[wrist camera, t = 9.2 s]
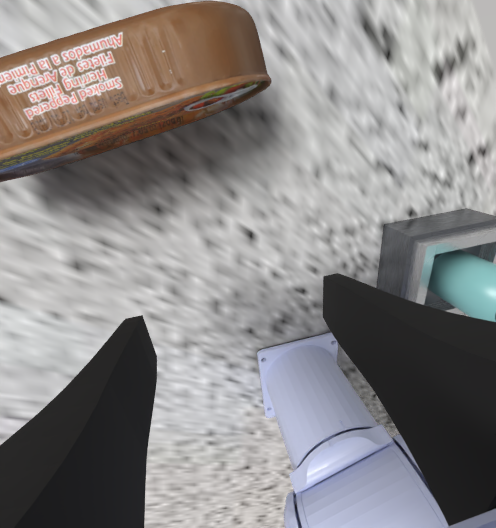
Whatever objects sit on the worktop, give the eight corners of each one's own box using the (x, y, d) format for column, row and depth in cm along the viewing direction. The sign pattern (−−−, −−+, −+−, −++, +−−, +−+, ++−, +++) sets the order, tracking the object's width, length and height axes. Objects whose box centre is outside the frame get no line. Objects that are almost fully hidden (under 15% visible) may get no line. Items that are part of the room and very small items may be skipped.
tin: (11, 182, 16) (-131, 226, 9) (-29, 125, 15) (-239, 120, 7) (250, 103, 17) (303, 81, 10) (235, 41, 16) (284, -39, 8)
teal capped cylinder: (463, 286, 24) (543, 330, 19) (421, 297, 23) (492, 346, 18) (473, 243, 22) (565, 279, 17) (428, 255, 22) (509, 295, 16)
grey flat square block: (447, 286, 28) (488, 310, 24) (374, 303, 27) (406, 331, 23) (466, 208, 24) (518, 222, 20) (383, 224, 23) (422, 242, 19)
